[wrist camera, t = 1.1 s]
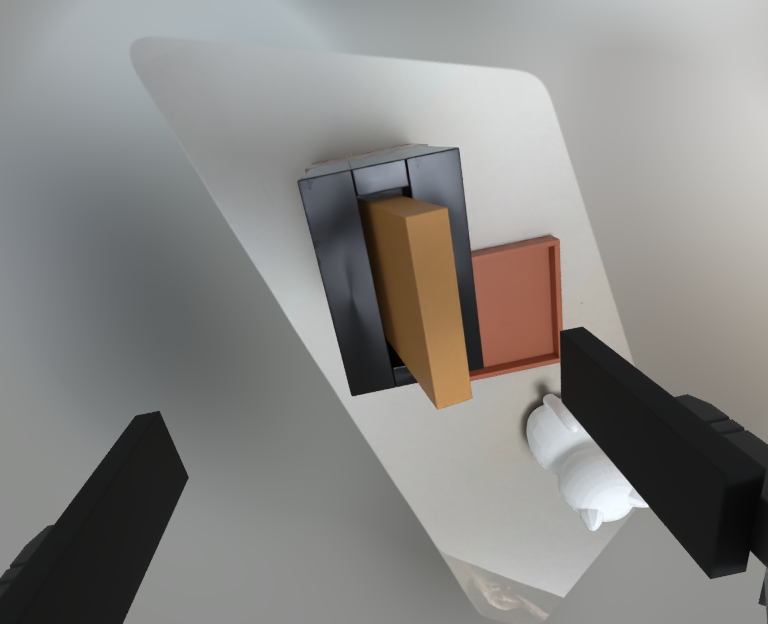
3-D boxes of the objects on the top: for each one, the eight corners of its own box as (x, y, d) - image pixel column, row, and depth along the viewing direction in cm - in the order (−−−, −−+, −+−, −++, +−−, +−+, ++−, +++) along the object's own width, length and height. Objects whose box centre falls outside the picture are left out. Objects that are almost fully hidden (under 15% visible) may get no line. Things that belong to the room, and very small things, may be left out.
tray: (435, 259, 49) (439, 263, 47) (550, 235, 49) (559, 239, 47) (452, 375, 54) (457, 384, 53) (556, 353, 55) (564, 361, 53)
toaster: (313, 163, 44) (287, 181, 24) (410, 143, 44) (468, 145, 24) (346, 306, 50) (350, 421, 30) (432, 289, 50) (494, 390, 30)
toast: (356, 198, 28) (405, 217, 19) (386, 191, 28) (448, 207, 19) (385, 337, 32) (437, 410, 22) (411, 330, 32) (473, 398, 23)
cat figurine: (535, 464, 61) (592, 559, 47) (503, 397, 56) (555, 481, 42) (595, 436, 60) (671, 525, 46) (567, 366, 55) (643, 441, 42)
